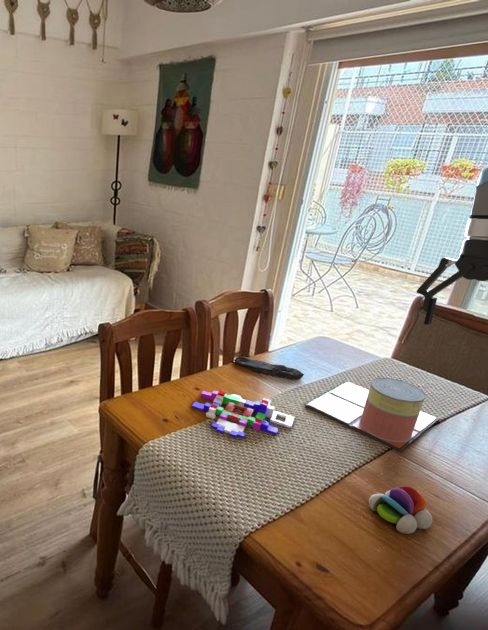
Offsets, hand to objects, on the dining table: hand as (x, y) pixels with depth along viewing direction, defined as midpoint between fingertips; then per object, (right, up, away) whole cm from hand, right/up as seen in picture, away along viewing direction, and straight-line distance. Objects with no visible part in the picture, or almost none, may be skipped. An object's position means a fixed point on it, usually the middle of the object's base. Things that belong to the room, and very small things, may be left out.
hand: (463, 330), depth 103 cm
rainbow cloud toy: (-27, -38, -14) cm, 48 cm away
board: (-9, -24, +19) cm, 32 cm away
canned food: (-10, -26, +11) cm, 30 cm away
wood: (-27, -15, +43) cm, 53 cm away
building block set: (-46, -25, +18) cm, 55 cm away
